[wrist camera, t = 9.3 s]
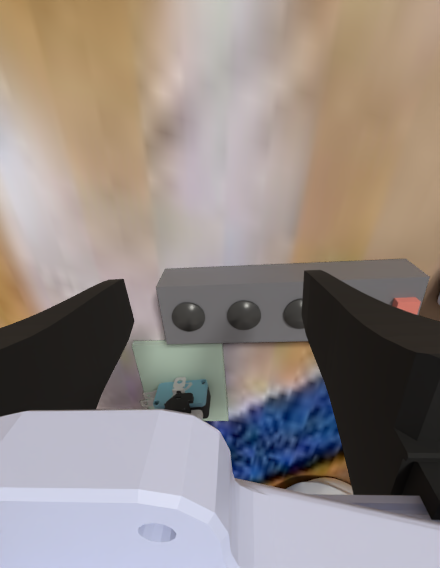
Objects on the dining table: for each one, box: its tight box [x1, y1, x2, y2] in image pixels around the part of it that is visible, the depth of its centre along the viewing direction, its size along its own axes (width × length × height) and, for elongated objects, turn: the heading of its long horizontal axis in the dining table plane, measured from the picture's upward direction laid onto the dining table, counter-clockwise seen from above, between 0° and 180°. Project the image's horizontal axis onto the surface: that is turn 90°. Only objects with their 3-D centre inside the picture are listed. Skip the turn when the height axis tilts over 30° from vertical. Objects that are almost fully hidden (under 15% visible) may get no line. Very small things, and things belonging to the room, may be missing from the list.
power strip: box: [156, 259, 429, 344], centre depth 22 cm, size 18×5×4 cm, turn 94°
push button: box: [140, 377, 211, 420], centre depth 24 cm, size 7×5×10 cm
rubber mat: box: [132, 340, 228, 421], centre depth 28 cm, size 8×10×1 cm
